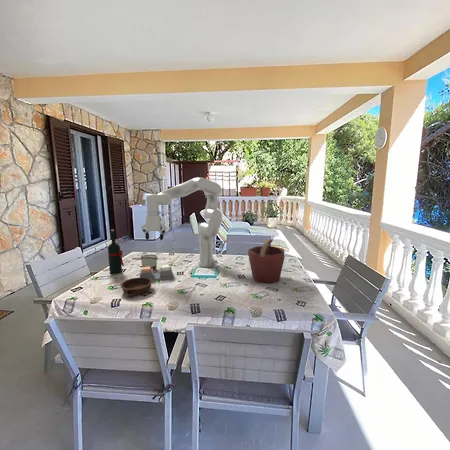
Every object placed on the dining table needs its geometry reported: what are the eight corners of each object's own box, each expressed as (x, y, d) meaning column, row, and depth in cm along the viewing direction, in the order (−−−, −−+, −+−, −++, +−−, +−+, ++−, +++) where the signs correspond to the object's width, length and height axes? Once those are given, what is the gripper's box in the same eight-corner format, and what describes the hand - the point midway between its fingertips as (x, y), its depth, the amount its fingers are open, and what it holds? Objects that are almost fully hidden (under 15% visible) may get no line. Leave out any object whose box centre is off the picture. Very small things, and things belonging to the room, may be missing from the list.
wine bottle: (121, 274, 173) (117, 230, 168) (107, 274, 174) (103, 230, 169) (127, 270, 181) (124, 228, 175) (113, 270, 182) (110, 228, 177)
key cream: (169, 268, 172) (169, 264, 171) (169, 271, 167) (169, 267, 166) (161, 269, 170) (161, 265, 170) (161, 272, 166) (161, 267, 165)
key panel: (172, 273, 175) (172, 266, 174) (173, 278, 166) (173, 270, 165) (139, 276, 170) (139, 269, 169) (139, 281, 160) (138, 274, 159)
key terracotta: (150, 270, 168) (150, 266, 168) (150, 273, 164) (150, 268, 163) (142, 271, 167) (142, 267, 167) (142, 274, 162) (142, 269, 162)
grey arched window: (160, 267, 186) (160, 254, 185) (157, 270, 180) (157, 256, 179) (144, 267, 188) (143, 254, 186) (140, 270, 182) (140, 256, 180)
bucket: (260, 270, 180) (261, 234, 176) (291, 276, 167) (292, 238, 163) (242, 281, 160) (242, 241, 156) (275, 289, 148) (276, 247, 143)
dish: (157, 283, 159) (156, 275, 158) (147, 299, 137) (146, 290, 136) (128, 283, 159) (128, 275, 158) (114, 299, 137) (113, 290, 136)
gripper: (168, 213, 167) (169, 238, 170) (143, 212, 170) (145, 237, 173) (163, 214, 160) (164, 241, 163) (137, 214, 163) (139, 240, 166)
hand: (154, 239), depth 168 cm, fingers open, 9 cm apart
